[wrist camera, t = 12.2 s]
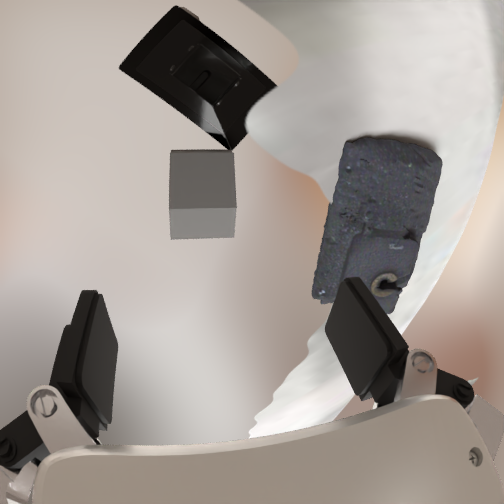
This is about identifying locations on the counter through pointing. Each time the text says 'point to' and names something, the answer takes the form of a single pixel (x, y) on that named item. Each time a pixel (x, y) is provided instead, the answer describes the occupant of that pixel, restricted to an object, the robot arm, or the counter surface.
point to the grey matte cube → (202, 194)
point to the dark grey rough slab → (377, 218)
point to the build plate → (198, 75)
